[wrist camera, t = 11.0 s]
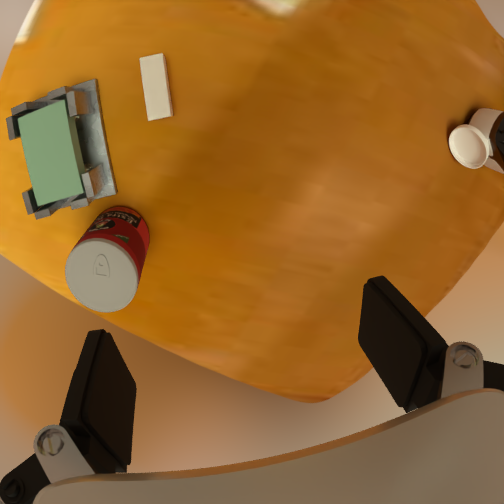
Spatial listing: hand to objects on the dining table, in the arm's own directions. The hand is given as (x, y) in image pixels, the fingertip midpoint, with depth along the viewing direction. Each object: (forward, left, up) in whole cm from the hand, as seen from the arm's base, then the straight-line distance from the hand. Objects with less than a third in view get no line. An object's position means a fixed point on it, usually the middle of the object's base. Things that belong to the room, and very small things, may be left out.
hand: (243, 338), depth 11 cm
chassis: (-7, -16, -28) cm, 33 cm away
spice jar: (-2, +42, -29) cm, 51 cm away
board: (-7, -16, -24) cm, 30 cm away
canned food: (+6, -12, -28) cm, 31 cm away
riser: (-11, -4, -28) cm, 31 cm away
